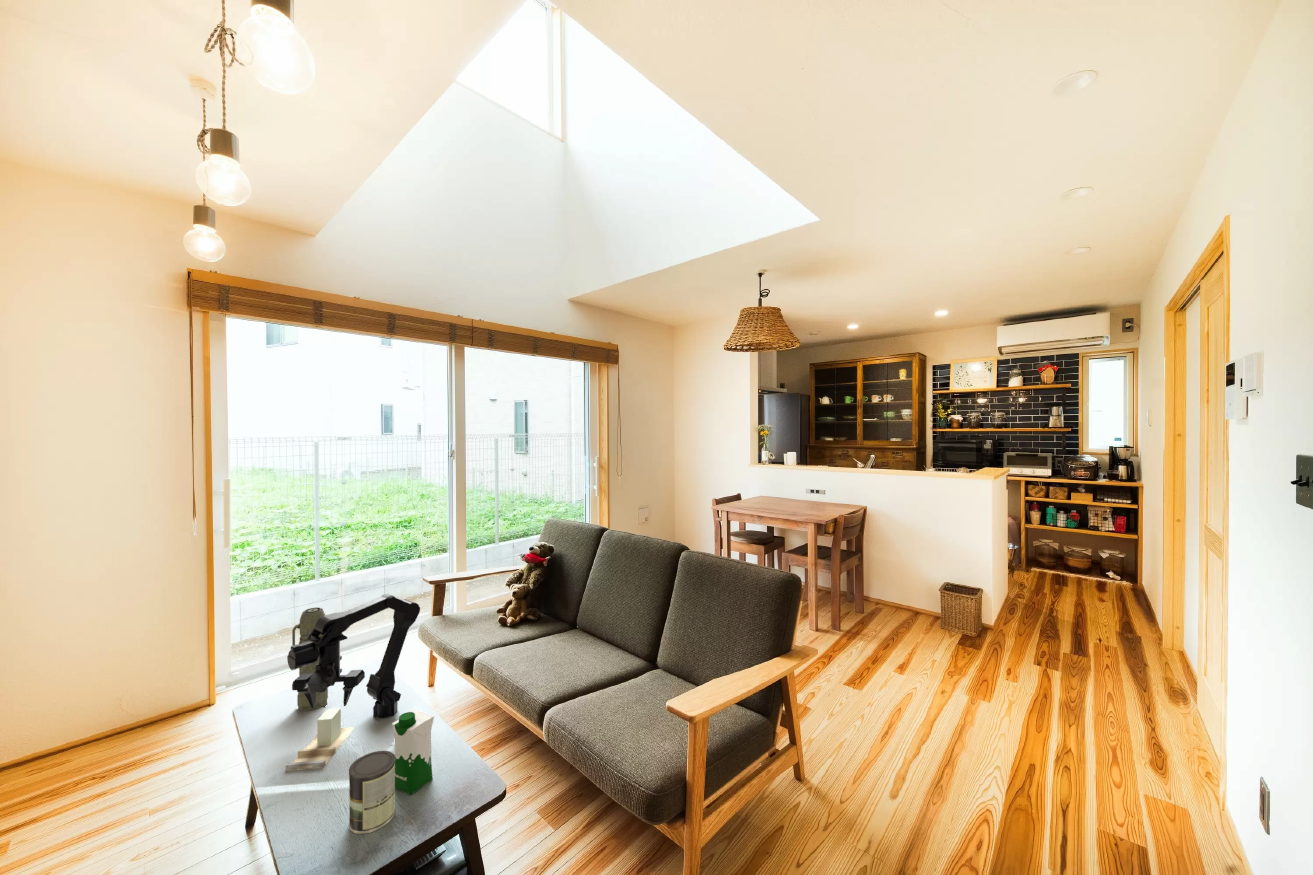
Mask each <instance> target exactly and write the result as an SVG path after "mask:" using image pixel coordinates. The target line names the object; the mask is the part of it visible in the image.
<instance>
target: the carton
mask: <svg viewBox="0 0 1313 875" xmlns="http://www.w3.org/2000/svg"><path fill="white" fill-rule="evenodd" d="M341 710H342V709H341V708H340V707H339V708H327V709H326V710H325V711H324V712H323V713H322V714H321V716H320V717H319V718H317V720H316V723H317V724H316V726H317V728H316V733H317V734H316V736H317V746H323V745H332V743H333V742H334V741H335V740H336V738H337V737H338V736H339V735H340V734H341V728H342V727H341V726H342V724H341V723H342V722H341V721H342V720H341V719H342V718H341V717H342V715H341V714H342V711H341Z"/></svg>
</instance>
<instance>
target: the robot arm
mask: <svg viewBox="0 0 1313 875" xmlns="http://www.w3.org/2000/svg"><path fill="white" fill-rule="evenodd" d="M387 609H391V610H394V611H393V618H392V619H393V628H392V630H391V633H390V634H391V635H390V637H389V640H388V643H387V646H386V649H385V651H384V655H383V657H382V660H381V663H380V666H379V668H378V670H377V671H376V672H375V674H373V673H371V674H370V675H369V679H368V682H367V683H366V686H365V687H367V688H366V692H367V694H368V696H369V697H372V699H373V700H375V701H374V705H373V708H372V717H373V718H378V719H387V718H390V717H394V716H395V715H396V713H397V712H398V705H399V704H398V702H399V701H400V700H401V696H402V693H400V692H398V691H397V690H395V685H396V677H395V670H396V668H397V665H398V662H399V658H400V656H401V653H402V650H403V646H404V643H405V641H406V638H407V635H408V632H409V629H410V628H411V627H412V626H413V625H414V624H415V622H416V621H417V618H418V616H419V614H420V613H421V607H420V604H418V603H417V602H414V601H412V600H409V599H400V598H397V597H396V596H394V595H392V594H389V593H384V594H382V595H381V596H378V597H377V598H373V599H371V600H370V601H367V602H365V603H363V604H360V605H357V606H355V607H352V608H351V609H348V610H345V611H339V612H334V613H330V614H325V616H322V617H321V618H319V619H318V621H317V623H316V625H315V628H314V629H313V631H312V632H311V634H310V635H309V637H308V638H307V640H308V641H309V642H305V643H302V644H299V643H298V644H295V645H293V646H292V645H291V646H290V650H288V654H287V656H286V657H287V659H286V660H287V664H288V668H289V669H290V670H291V671H294V670H297V669H298V670H299V668H301V667H303V666H306V665H309V664H312V663H315V661H317V660H318V664H317V665H316V670H315V673H302V674H301V675H300V676H298V677H297V678H295V679H294V680H293V681H292V683H291V686H292V687H291V690H292V691H296V692H297V693H298V692H301V693H303V694H304V695H305V696H306V698H307V699H308V701H309V703H310V705H311V708H314V707H315V704H316V692H325V691H326V690H327V688H328V689H329V687H333V686H335V684H336V683H341V682H342V683H343V684H342V685H343V687H342V690H343V702H342V703H343V707H346V706H347V705H348V702H349V700H350V697H351V695H352V692H353V690H354V688H355V687H357V686H359V684H361V682H362V681H363V680H364V679H365V678H366V676H365V671H364V670H363V669H351V670H350V671H349V672H348V673H347V674H341V673H342V672H343V669H342V668H341V661H342V660H343V655H341V641H344V640H348V636H346V635H345V634H343V633H344V632H345V631H347V630H348V629H349V628H351V626H352V625H354V624H356V623H357V622H360V621H362V620H364V619H367V618H369V617H371V616H373V615H376V614H378V613H380V612H382V611H385V610H387ZM320 634H321V635H323V636H322V638H320V637H318V636H319V635H320Z"/></svg>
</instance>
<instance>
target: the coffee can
mask: <svg viewBox="0 0 1313 875" xmlns="http://www.w3.org/2000/svg"><path fill="white" fill-rule="evenodd" d="M348 776H349V777H348V779H349V780H348V783H349V785H348V788H349V789H348V792H349V794H348V795H349V796H348V797H349V804H348V805H349V809H348V810H349V813H348V814H349V816H348V817H349V820H348V829H349V830H350V831H351V832H352V833H354V834H357V835H365V834H370V833H373V832H376V831H378V830H380V829H382V828H383V827H385V826H386V825H387V824H389V822H391V821H392V819H393V818H394V816H395V814H396V808H395V806H396V804H395V803H396V802H395V800H396V796H395V793H396V792H395V791H396V788H395V753H393V752H392V751H388V750H377V751H372V752H369V753H367V754H364V755H362V756H360V757H358V758H357V759H356V760H355V761H353V762H352V763H351V764H350V766H349V769H348Z"/></svg>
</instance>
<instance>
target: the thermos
mask: <svg viewBox="0 0 1313 875" xmlns="http://www.w3.org/2000/svg"><path fill="white" fill-rule="evenodd" d="M324 611H325V610H324V608H322V607H310V608H307V609H305V610H303V611H302V613H301V615H300V618H299V623H298V624H295V625H294V626H293V628H292V630H291V631H292V633H291V634H292V636H291V637H292V640H291V641H292V642H291V643H292V645H291V646H293V645H296V630H297V629H298V630H299V635H300V636H299V642H298V644H302V643H305V642H309V641H308V640H307V638H308V637H309V635H310V634H311V632H312V631H313V629H314V628H315V625H316V623H317V621H318V619H319V618H321V617H322V616H325V615H326V613H325V612H324ZM322 636H323V635H321V634H320V635H319V636H318V637H320V638H322ZM317 664H318V660H317V661H315V663H312V664H309V665H306V666H303V667H301V668H298V670H299V671H298V673H299V674H298V675H299V676H300V675H301V674H302V673H315V670H316V665H317ZM299 676H298V677H299ZM296 696H297V699H296V700H297V701H296V702H297V703H296V704H297V709H298V710H299V711H302V712H303V711H306V712H307V711H312V710H316V709H319V708H322V709H324V708H326V707H325V706H326V705H327V706H328V698H329V687H328V688H327V690H326V691H325V692H316V704H315V707H314V708H311V705H310V703H309V701H308V699H307V698H306V696H305V695H304V694H303V693H301V692H297V695H296Z"/></svg>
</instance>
